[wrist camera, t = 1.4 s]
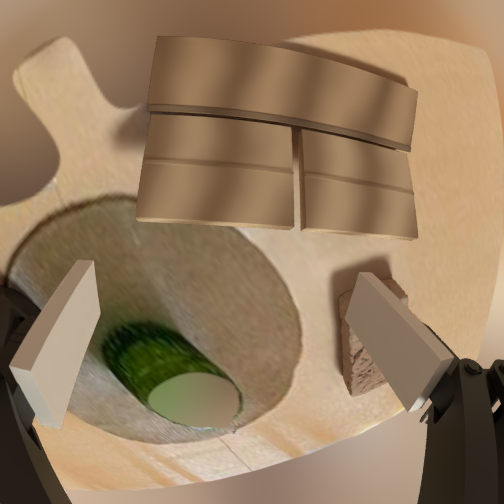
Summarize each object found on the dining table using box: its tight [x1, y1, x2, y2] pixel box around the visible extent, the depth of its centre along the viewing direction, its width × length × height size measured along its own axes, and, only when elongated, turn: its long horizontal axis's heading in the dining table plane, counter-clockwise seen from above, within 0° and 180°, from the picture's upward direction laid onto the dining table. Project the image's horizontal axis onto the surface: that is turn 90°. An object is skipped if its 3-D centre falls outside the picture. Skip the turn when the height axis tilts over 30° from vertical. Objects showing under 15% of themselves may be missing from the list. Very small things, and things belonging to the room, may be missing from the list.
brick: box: [339, 279, 408, 397], centre depth 37 cm, size 17×8×5 cm, turn 13°
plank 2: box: [297, 129, 418, 241], centre depth 26 cm, size 12×9×1 cm
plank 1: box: [135, 114, 294, 230], centre depth 23 cm, size 12×9×1 cm
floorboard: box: [147, 36, 418, 152], centre depth 24 cm, size 26×7×2 cm, turn 83°
